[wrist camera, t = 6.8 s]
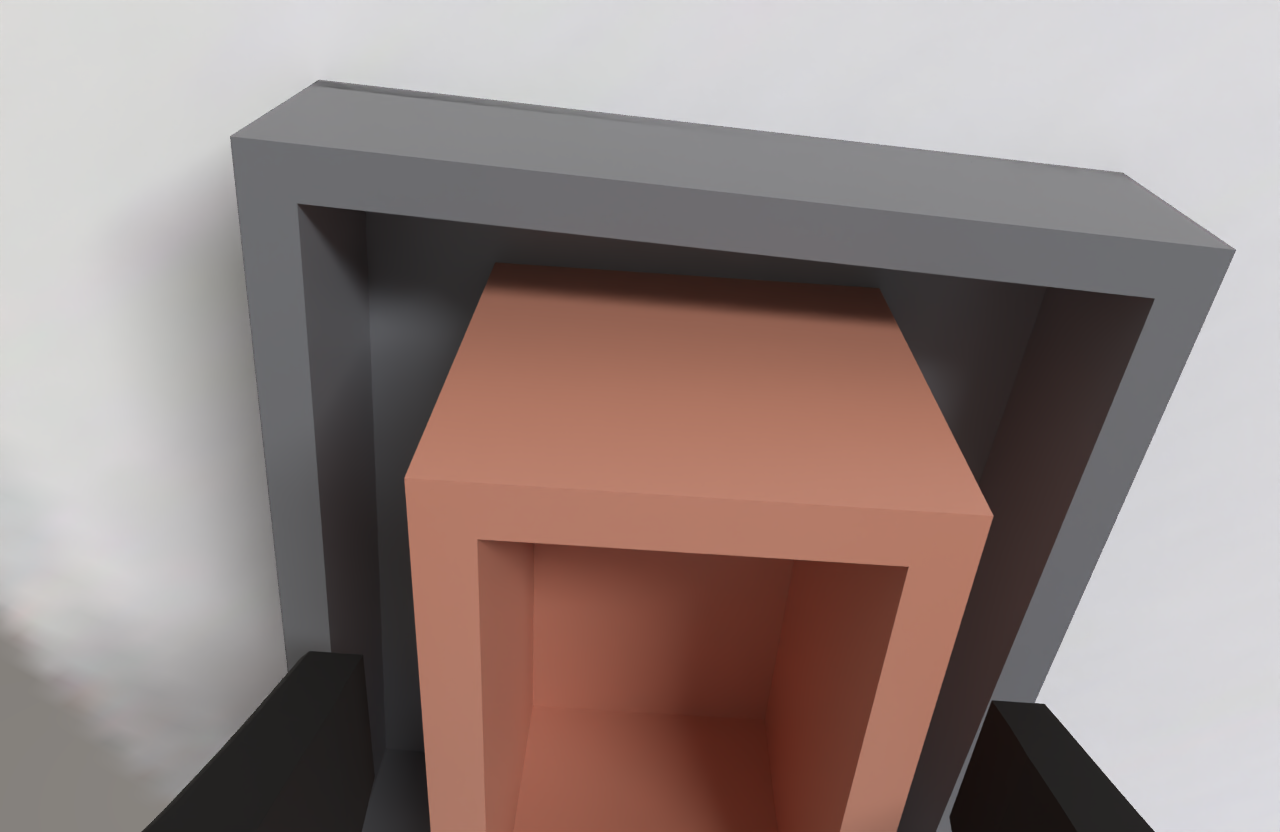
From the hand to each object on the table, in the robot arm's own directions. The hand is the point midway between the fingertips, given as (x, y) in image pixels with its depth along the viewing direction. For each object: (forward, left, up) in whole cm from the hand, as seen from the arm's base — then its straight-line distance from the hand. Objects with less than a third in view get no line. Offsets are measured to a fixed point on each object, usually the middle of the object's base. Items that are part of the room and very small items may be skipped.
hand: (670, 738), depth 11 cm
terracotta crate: (0, 0, -4) cm, 4 cm away
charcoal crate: (0, 0, -4) cm, 4 cm away
